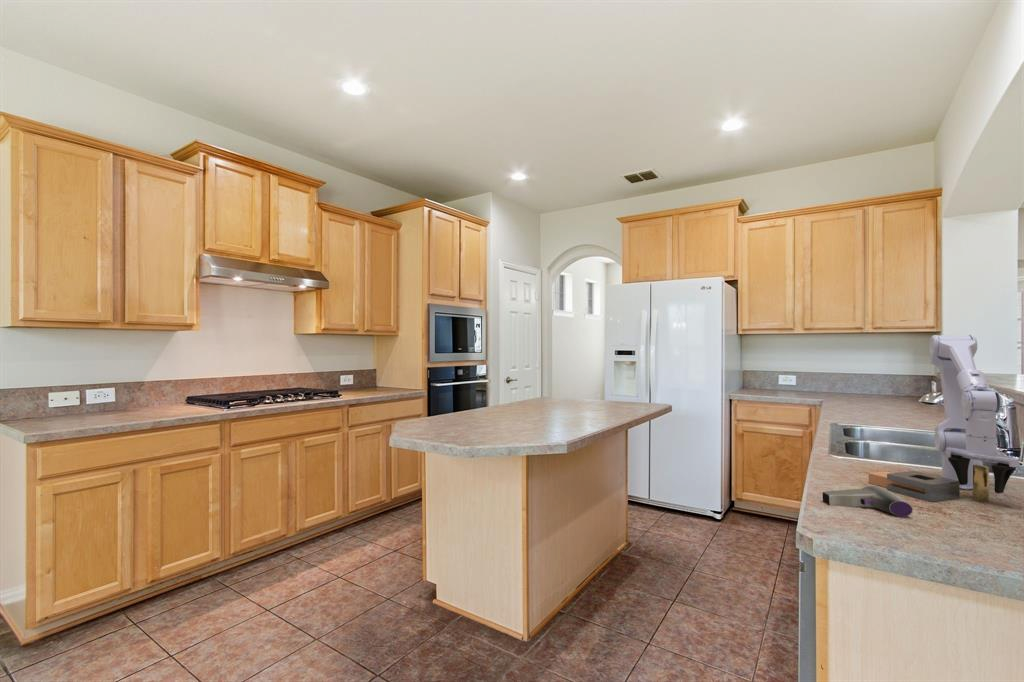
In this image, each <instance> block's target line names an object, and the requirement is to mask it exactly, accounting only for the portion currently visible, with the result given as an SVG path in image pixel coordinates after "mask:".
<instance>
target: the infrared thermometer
mask: <svg viewBox="0 0 1024 682" xmlns="http://www.w3.org/2000/svg"><path fill="white" fill-rule="evenodd" d="M821 494H822V502H823V503H825V504H827V505H829V506H840V507H841V506H842V507H852V508H857V507H858V508H873V509H879V510H881V511H884V512H886V513H890V514H891V515H894V516H896V517H901V518H902V517H903V518H904V517H908V516H910V515H912V513H913V510H914V509H913V506H912V505H911V504H910V503H909V502H907V501H905V500H904V499H903V498H902V497H900V496H898V495H897V494H895V492H893V491H889V490H887V488H886V489H885V488H884V487H881V486H878V485H872V486H870V485H869V486H864V487H863V488H855V489H844V490H843V489H841V490H827V491H823V492H822V493H821Z"/></svg>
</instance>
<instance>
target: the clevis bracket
mask: <svg viewBox="0 0 1024 682" xmlns="http://www.w3.org/2000/svg"><path fill="white" fill-rule="evenodd" d="M887 479H888V480H892V481H896V482H900V483H904V484H908V485H912V486H916V487H920V488H924V489H925V492H922V491H918V490H915V489H911V488H907V487H903V486H899V485H895V484H888V485H887V488H886V490H888V491H890V492H892V493H897V494H901V495H904V496H909V497H912V498H915V499H918V500H922V501H926V502H930V503H935V502H942V501H949V500H956V499H960V494H961V493H960V489H961V488H960V481H957V480H952V479H948V478H943V477H942V476H938V475H933V474H930V473H926V472H921V471H916V470H909V471H898V472H890V474H887Z"/></svg>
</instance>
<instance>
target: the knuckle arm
mask: <svg viewBox="0 0 1024 682" xmlns="http://www.w3.org/2000/svg"><path fill="white" fill-rule="evenodd" d="M890 473H891V472H890V471H877V472H868V484H871V485H873V486H878V487H881V486H882V487H881V488H884V489H885V488H886V489H887V485H888V484H895V485H899V486H903V487H907V488H911V489H915V490H918V491H922V492H925V489H924V488H920V487H916V486H912V485H908V484H904V483H900V482H896V481H892V480H888V479H887V474H890Z"/></svg>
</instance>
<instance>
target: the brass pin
mask: <svg viewBox="0 0 1024 682" xmlns="http://www.w3.org/2000/svg"><path fill="white" fill-rule="evenodd" d="M989 483H990V467H989V466H988V465H984V464H983V465H973V489H972V500H973V501H975V502H979V503H989V502H990V501H989V499H990V498H989V497H990V495H989V494H990V493H989V490H990V488H989V487H990V485H989Z"/></svg>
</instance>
